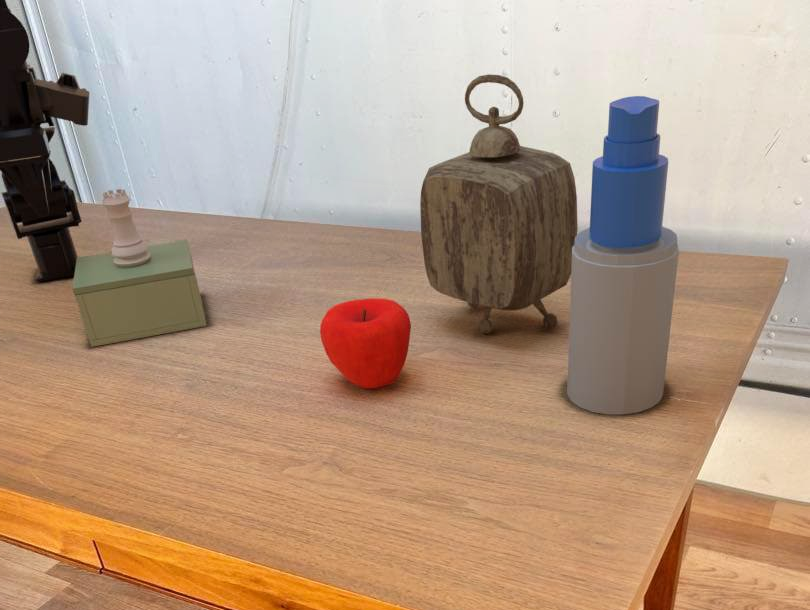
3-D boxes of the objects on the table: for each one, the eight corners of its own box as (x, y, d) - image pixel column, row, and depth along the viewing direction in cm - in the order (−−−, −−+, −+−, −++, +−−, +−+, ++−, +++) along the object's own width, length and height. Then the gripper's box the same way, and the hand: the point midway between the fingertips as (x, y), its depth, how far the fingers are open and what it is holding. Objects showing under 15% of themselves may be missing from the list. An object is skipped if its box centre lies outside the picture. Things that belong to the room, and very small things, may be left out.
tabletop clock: (574, 326, 93) (583, 69, 78) (524, 357, 88) (523, 89, 73) (471, 300, 101) (462, 63, 86) (421, 327, 96) (401, 81, 81)
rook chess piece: (106, 267, 100) (85, 197, 95) (129, 254, 103) (110, 186, 99) (137, 269, 99) (117, 198, 94) (159, 256, 102) (141, 186, 97)
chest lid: (78, 264, 105) (76, 257, 104) (188, 245, 107) (187, 239, 106) (74, 295, 96) (72, 288, 95) (194, 274, 98) (192, 267, 97)
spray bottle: (575, 367, 85) (586, 90, 70) (667, 373, 82) (699, 87, 67) (558, 410, 78) (566, 115, 63) (657, 418, 76) (691, 112, 61)
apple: (311, 391, 86) (298, 317, 81) (362, 356, 91) (353, 285, 87) (382, 409, 81) (373, 333, 77) (431, 371, 87) (426, 298, 82)
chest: (94, 314, 108) (78, 266, 104) (200, 295, 110) (189, 247, 106) (91, 347, 100) (74, 295, 96) (206, 326, 102) (194, 274, 98)
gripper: (70, 63, 88) (114, 215, 98) (74, 40, 102) (112, 175, 112) (-42, 77, 86) (14, 231, 96) (-22, 52, 101) (25, 189, 110)
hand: (46, 204), depth 104 cm, fingers open, 9 cm apart
